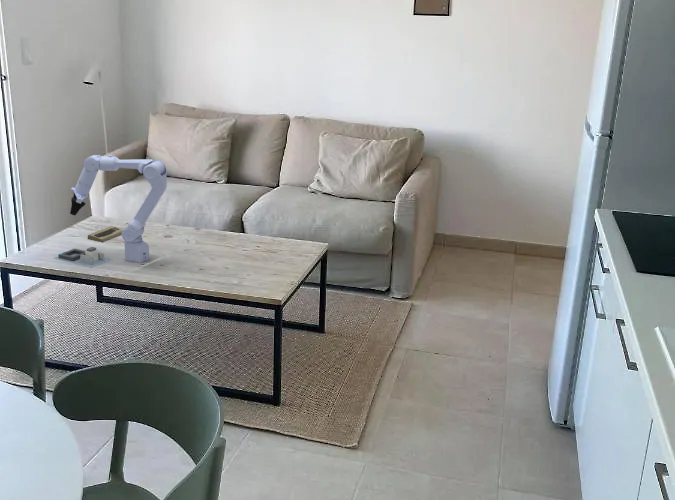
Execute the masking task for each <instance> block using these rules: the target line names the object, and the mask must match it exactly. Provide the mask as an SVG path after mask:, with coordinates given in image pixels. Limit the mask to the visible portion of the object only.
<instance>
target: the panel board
mask: <svg viewBox="0 0 675 500" xmlns="http://www.w3.org/2000/svg"><path fill="white" fill-rule="evenodd" d="M75 255H78V254H72V255H70V256H75ZM53 259H54V260H58V261H62V262H66V263H70V264H75V265H79V266H83V267H87V268H90V269H93V268H96V267H98V266H100V265H102V264H105V263H108V262H110V261H112V260H113V258H110V257H106V256H104V260H98V261H95V262H93V263H94V264H92V265H91V264H87V263H83V262H81V261H80V259H78V260H76V261H69V260H65V259H61V258H59V257H58V256H56V257H53Z"/></svg>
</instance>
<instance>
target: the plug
mask: <svg viewBox="0 0 675 500" xmlns="http://www.w3.org/2000/svg"><path fill="white" fill-rule="evenodd" d="M84 251H85V255H87V256H91V257H93V262H95V261H98V260H99V258H98V252H99V250H98V249H97V247H94V246H90V247H88V248H86V250H84Z"/></svg>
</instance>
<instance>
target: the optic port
mask: <svg viewBox="0 0 675 500" xmlns="http://www.w3.org/2000/svg"><path fill="white" fill-rule="evenodd" d="M85 251H86V250H82V249H79V248H72V249H69V250H67V251H65V252H62V253H59V254H58V255H57V257H59V258H61V259H65V260H69V261H76V260H78V259H80V255H85ZM72 254H78V255H75V256H70V255H72Z"/></svg>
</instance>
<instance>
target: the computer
mask: <svg viewBox="0 0 675 500" xmlns="http://www.w3.org/2000/svg"><path fill="white" fill-rule="evenodd" d="M123 229H124V228H120V227H117V226H114V225H111V226H107V227H105V228H102V229H100V230H97V231H95V232H92V233H89V234H87V240H89V241H93V242H98V243H104V242H106V241H108V240H109V241H110V240H111V239H114V238H116V237H117V238H118V236H122V235H121V233H122V230H123Z"/></svg>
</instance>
